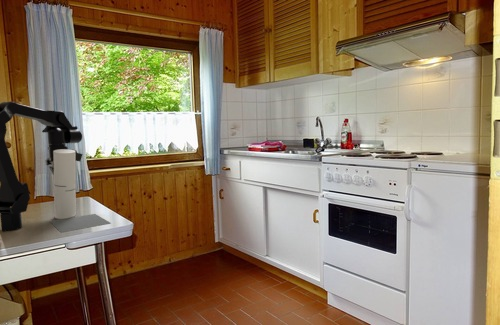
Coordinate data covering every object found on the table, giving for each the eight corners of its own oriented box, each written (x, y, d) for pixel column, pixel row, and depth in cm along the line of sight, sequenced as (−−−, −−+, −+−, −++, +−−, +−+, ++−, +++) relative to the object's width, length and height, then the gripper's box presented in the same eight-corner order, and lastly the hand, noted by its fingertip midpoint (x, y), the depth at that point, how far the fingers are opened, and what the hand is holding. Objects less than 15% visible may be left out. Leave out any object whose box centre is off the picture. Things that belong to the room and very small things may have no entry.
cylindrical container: (56, 212, 137) (55, 149, 132) (76, 211, 140) (76, 149, 134) (53, 219, 130) (51, 152, 125) (74, 218, 133) (74, 153, 128)
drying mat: (111, 224, 122) (111, 223, 122) (61, 233, 112) (61, 232, 112) (94, 214, 137) (94, 213, 137) (49, 222, 128) (49, 221, 128)
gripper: (85, 143, 134) (88, 184, 136) (74, 142, 149) (77, 179, 150) (52, 144, 127) (56, 187, 129) (43, 144, 142) (47, 182, 143)
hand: (60, 184), depth 138 cm, fingers closed
